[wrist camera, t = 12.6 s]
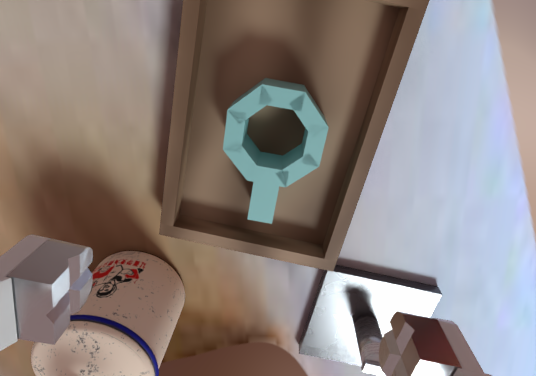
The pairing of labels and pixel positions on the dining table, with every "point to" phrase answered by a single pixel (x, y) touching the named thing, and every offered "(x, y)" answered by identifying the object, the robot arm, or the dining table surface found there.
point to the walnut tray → (281, 116)
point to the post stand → (360, 315)
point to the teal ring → (266, 164)
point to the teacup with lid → (118, 321)
